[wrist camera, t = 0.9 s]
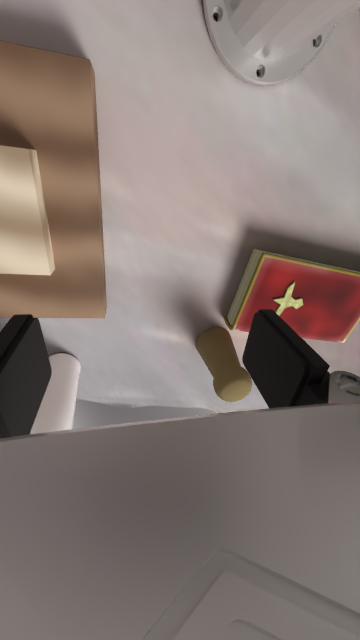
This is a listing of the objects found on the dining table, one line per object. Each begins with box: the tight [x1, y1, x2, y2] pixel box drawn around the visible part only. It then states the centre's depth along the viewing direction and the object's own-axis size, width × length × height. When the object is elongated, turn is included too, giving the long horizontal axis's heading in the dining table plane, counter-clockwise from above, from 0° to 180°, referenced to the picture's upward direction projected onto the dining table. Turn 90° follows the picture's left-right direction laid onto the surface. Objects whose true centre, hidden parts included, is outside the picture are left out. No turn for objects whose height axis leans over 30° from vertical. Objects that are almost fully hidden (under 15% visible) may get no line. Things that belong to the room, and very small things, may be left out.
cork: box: [196, 327, 252, 402], centre depth 36 cm, size 6×6×11 cm
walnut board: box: [0, 41, 107, 318], centre depth 25 cm, size 24×16×3 cm, turn 173°
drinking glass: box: [30, 353, 81, 434], centre depth 32 cm, size 7×7×15 cm
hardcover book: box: [224, 249, 360, 343], centre depth 37 cm, size 12×21×4 cm, turn 76°
